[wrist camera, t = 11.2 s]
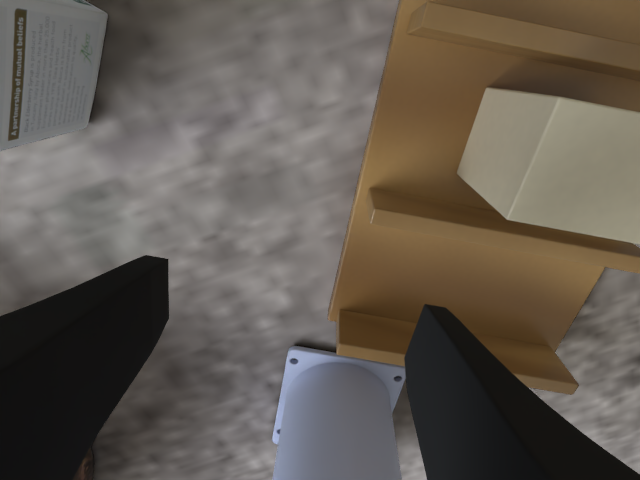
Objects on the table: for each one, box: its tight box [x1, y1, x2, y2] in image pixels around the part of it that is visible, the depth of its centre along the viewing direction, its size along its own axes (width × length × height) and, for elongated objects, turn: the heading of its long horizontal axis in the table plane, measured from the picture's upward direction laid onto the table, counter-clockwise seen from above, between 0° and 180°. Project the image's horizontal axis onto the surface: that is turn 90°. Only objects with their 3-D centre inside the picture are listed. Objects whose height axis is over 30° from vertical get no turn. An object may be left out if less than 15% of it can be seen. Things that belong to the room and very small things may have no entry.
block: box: [457, 87, 640, 244], centre depth 14 cm, size 4×5×6 cm
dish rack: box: [328, 0, 640, 395], centre depth 16 cm, size 24×14×4 cm, turn 170°
